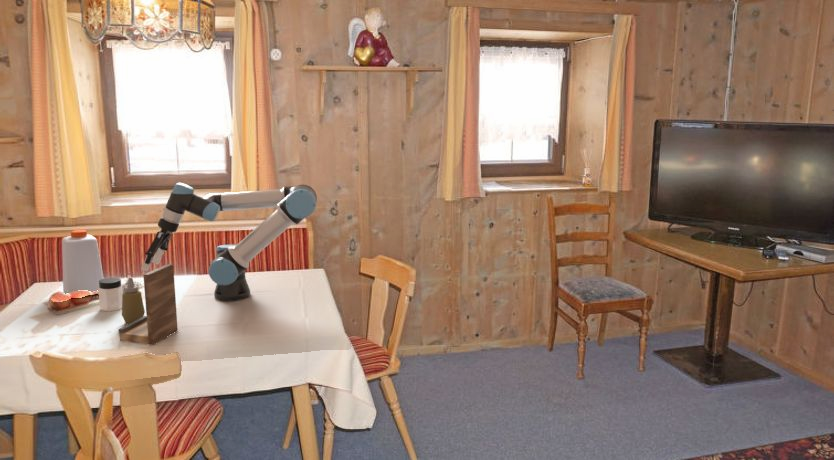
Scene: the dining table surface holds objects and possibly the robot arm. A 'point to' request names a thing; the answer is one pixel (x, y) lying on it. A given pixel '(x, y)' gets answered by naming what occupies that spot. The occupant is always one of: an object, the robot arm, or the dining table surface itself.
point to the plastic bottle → (81, 262)
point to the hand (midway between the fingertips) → (149, 266)
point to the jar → (110, 294)
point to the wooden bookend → (155, 309)
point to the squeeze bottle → (132, 303)
